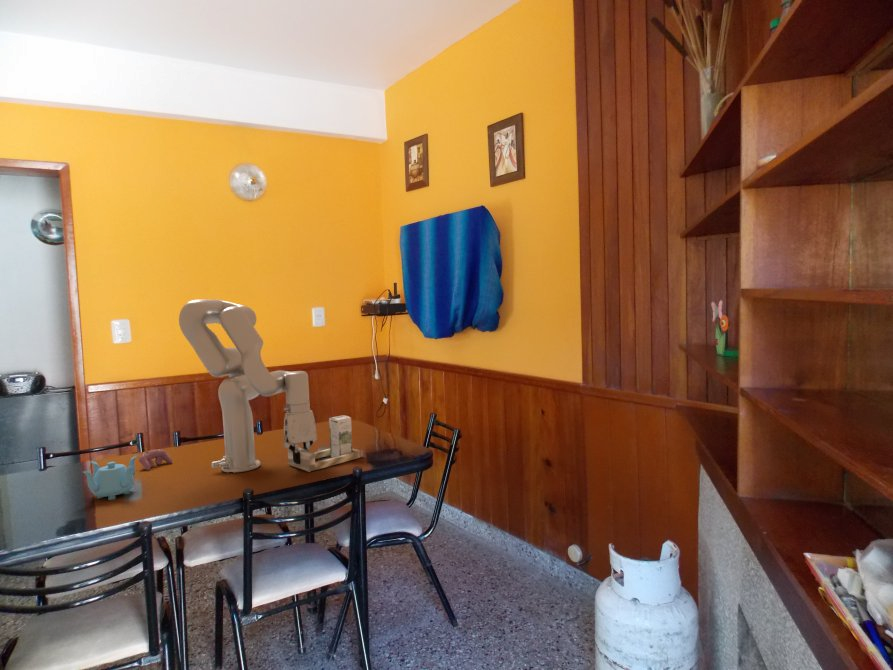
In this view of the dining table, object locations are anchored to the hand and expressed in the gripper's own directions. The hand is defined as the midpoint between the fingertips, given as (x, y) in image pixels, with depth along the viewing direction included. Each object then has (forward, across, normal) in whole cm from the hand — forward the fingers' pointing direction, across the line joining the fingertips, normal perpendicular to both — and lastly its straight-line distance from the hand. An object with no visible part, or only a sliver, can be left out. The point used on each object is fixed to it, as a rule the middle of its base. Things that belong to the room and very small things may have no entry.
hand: (301, 461), depth 192 cm
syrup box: (+2, +16, 0) cm, 17 cm away
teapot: (+2, -51, +22) cm, 55 cm away
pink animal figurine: (+3, -31, +46) cm, 55 cm away
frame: (+2, +10, 0) cm, 10 cm away
